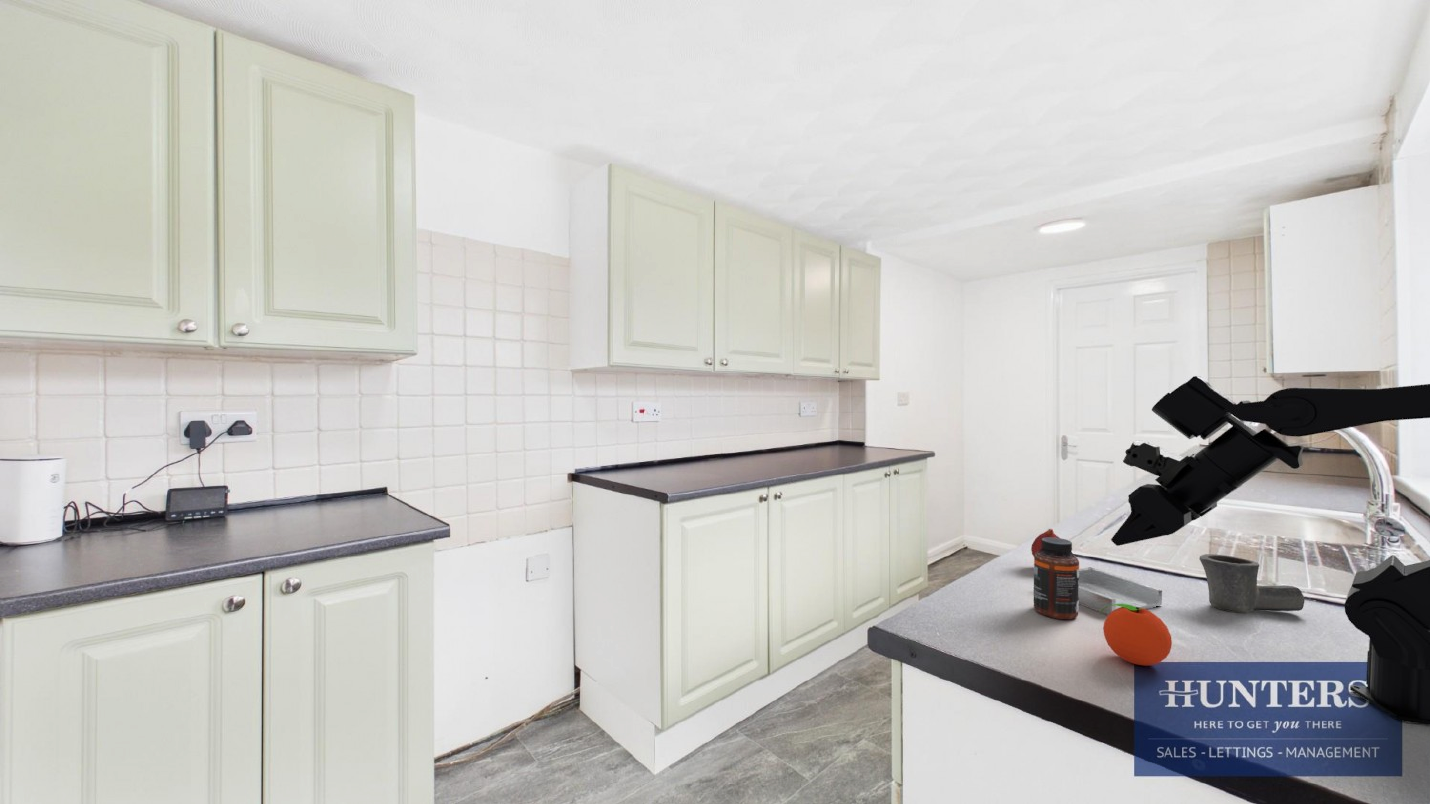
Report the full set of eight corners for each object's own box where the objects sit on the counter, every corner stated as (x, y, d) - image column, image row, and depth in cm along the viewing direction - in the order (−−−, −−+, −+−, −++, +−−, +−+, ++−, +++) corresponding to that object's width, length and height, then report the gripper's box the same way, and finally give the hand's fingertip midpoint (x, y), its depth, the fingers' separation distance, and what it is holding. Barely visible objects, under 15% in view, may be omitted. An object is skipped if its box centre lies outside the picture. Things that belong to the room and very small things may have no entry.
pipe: (1312, 622, 82) (1314, 569, 82) (1212, 614, 85) (1214, 563, 85) (1279, 606, 88) (1281, 556, 88) (1187, 599, 91) (1189, 551, 91)
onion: (1024, 567, 106) (1025, 526, 106) (1043, 563, 109) (1044, 523, 109) (1053, 577, 101) (1054, 533, 101) (1073, 572, 104) (1074, 530, 103)
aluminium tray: (1161, 606, 88) (1162, 590, 88) (1111, 616, 84) (1112, 599, 84) (1089, 581, 99) (1090, 567, 99) (1042, 589, 95) (1042, 574, 95)
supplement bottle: (1087, 617, 84) (1089, 543, 83) (1060, 624, 81) (1062, 547, 81) (1050, 603, 89) (1052, 533, 89) (1024, 608, 87) (1025, 537, 87)
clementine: (1082, 651, 73) (1083, 598, 73) (1114, 642, 76) (1116, 590, 75) (1150, 681, 66) (1151, 622, 65) (1183, 669, 68) (1185, 612, 68)
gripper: (1184, 419, 82) (1100, 487, 90) (1145, 424, 70) (1053, 501, 79) (1260, 476, 75) (1163, 543, 84) (1231, 492, 64) (1122, 568, 72)
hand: (1125, 537), depth 80 cm, fingers open, 9 cm apart
